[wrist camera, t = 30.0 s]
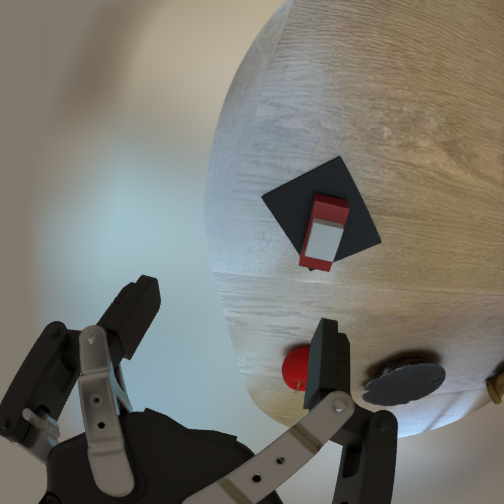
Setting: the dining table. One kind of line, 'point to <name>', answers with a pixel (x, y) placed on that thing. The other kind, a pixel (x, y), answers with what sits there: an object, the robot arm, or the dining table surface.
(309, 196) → the mat
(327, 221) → the red and grey block
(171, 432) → the robot arm
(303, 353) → the fruit
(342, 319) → the dining table surface
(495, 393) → the yellow fluted pedestal
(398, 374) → the board
